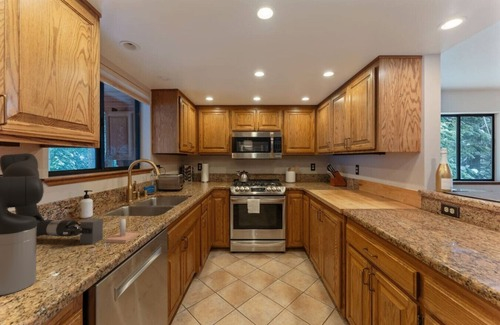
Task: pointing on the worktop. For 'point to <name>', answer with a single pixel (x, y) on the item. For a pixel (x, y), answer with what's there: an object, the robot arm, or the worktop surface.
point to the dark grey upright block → (96, 231)
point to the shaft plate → (121, 239)
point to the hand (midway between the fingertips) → (96, 229)
